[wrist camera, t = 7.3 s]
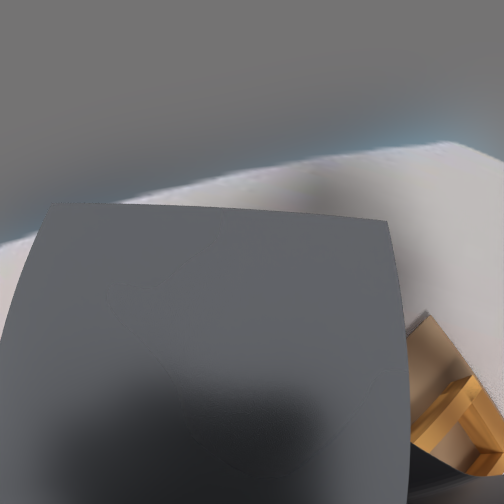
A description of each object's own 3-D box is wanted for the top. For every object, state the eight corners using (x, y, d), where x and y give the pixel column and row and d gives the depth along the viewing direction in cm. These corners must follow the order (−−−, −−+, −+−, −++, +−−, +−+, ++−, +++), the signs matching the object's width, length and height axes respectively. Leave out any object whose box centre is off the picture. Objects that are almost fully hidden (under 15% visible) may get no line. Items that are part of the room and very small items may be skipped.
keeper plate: (318, 611, 10) (330, 634, 6) (197, 484, 16) (187, 496, 13) (509, 440, 16) (538, 435, 13) (425, 319, 23) (449, 300, 20)
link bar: (271, 463, 12) (389, 592, 1) (186, 455, 12) (-13, 519, 1) (276, 385, 14) (387, 221, 3) (194, 379, 14) (51, 203, 3)
